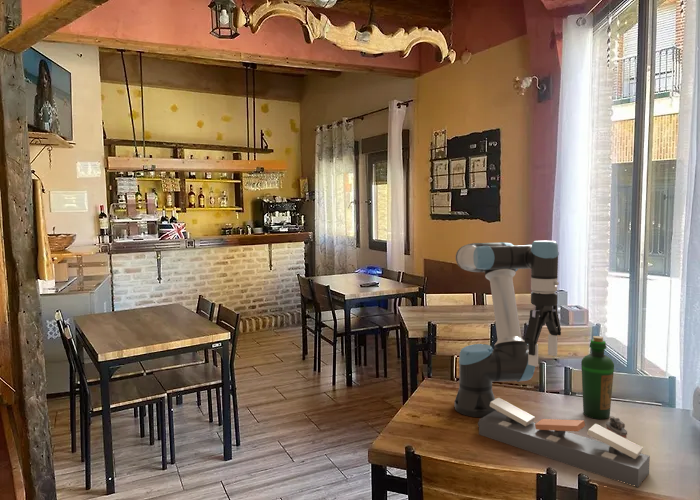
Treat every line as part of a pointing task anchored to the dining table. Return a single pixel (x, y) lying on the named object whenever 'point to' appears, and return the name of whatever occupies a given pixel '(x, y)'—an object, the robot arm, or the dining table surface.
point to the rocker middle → (560, 425)
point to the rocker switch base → (566, 448)
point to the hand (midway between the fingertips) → (543, 360)
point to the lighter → (616, 426)
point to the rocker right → (615, 441)
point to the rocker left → (512, 411)
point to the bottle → (597, 380)
